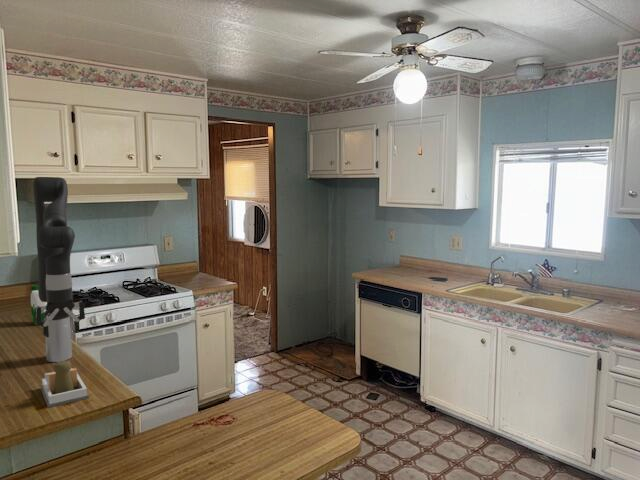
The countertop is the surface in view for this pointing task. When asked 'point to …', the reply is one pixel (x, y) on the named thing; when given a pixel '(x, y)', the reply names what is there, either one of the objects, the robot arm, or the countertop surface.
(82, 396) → the white walled tray
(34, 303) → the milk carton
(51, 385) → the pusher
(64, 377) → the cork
